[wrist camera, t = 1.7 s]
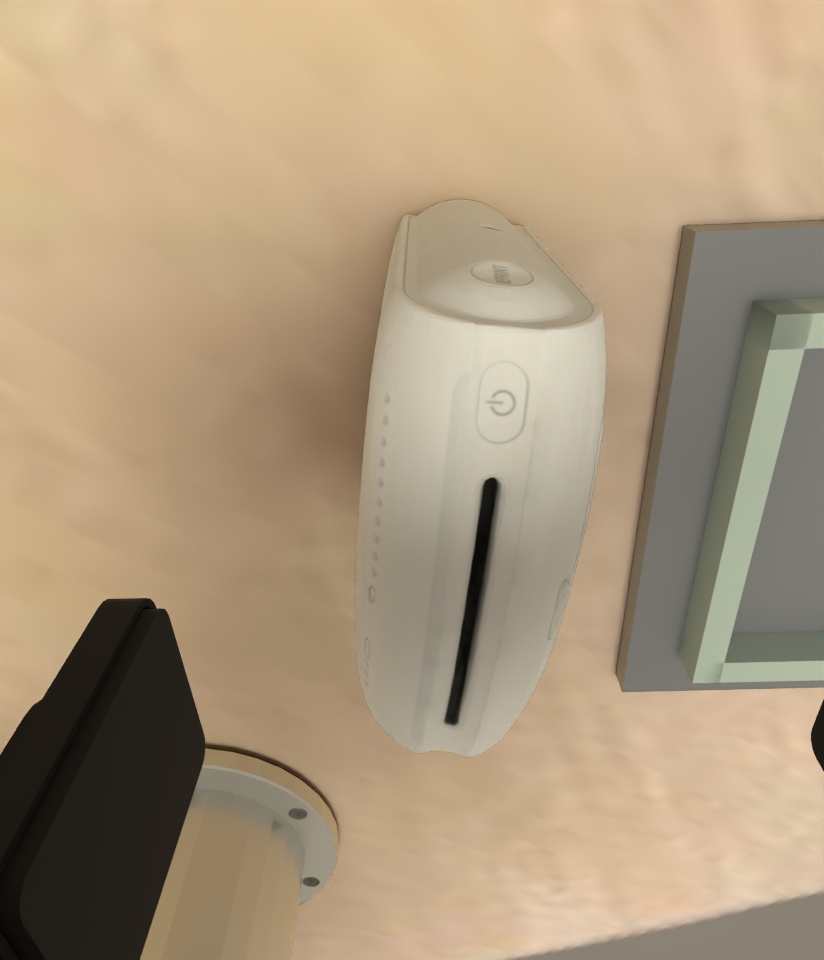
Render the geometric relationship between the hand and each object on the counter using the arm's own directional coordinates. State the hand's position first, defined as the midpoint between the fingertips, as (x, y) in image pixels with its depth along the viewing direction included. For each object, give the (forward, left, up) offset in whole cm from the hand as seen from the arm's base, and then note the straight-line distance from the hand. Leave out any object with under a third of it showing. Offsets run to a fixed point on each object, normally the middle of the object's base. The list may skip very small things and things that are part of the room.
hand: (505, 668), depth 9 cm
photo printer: (-1, 0, -14) cm, 14 cm away
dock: (-6, -13, -14) cm, 20 cm away
